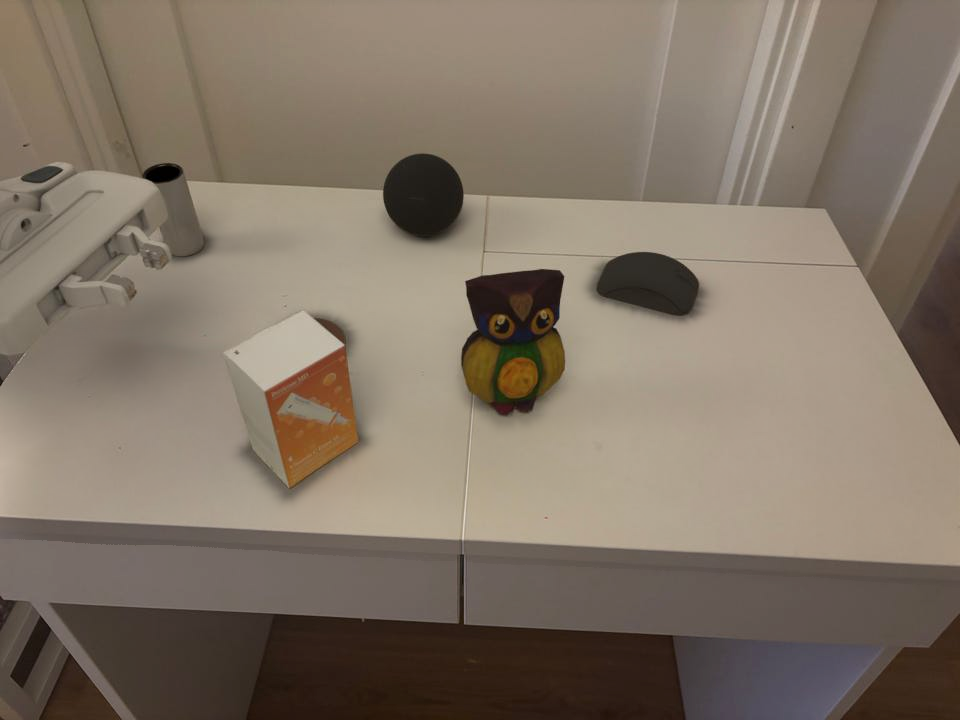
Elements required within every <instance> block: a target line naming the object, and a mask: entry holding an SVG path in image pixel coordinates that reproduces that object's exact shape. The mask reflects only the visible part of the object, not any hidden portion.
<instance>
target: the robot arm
mask: <svg viewBox="0 0 960 720" xmlns="http://www.w3.org/2000/svg"><path fill="white" fill-rule="evenodd" d="M167 218H168V213H167V210H166V206H165V203H164V200H163V197H162V194H161V192H160V190H159V188H158V187H157V186H156V185H155V184H154V183H153V182H151V181H149V180H146V179H143V178H142V177H138V176H133V175H129V174H124V173H119V172H113V171H106V170H83V171H80V172H78V171H77V170H76V168H75V166H74V164H71V163H69V162H65V161H55V162H52V163H49V164H47V165H45V166H42V167H40V168H38V169H36V170H33V171H30V172H27V173H25V174H22V175H20V176H16V177H13V178H8V179H5V180H4V179H3V180H0V355H4V356H15V355H20V354H24V353H27V352H29V351H30V350H31V349H32V348H33V347H35V345H36V344H37V343H39V342H40V340H41V339H42V338H44V337H45V335H47V334H48V333H49V332H50V331H51V330H52V329H53V328H55V326H56V325H57V324H58V323H60V321H61V320H63V319H64V318H65V317H66V316H67V315H68V314H69V313H70V312H71V311H73V309H74V308H77V309H87V308H92V307H97V306H104V305H107V304H113V305H116V306H120V307H126V306H127V305H128V304H129V303H130V302H131V301H132V300H133V299H134V298H135V297H136V296H137V294H138V292H137V289H136V288H135V284H134V282H133V281H132V279H130V278H128V277H126V276H125V277H124V276H123V277H121V276H120V275H116V274H111V273H112V272H113V271H115V270H116V269H117V268H118V266H120V265H121V264H122V263H123V262H124V261H125V260H126V259H127V258H128V257H129V256H132V257H137V256H138V255H140V257H142V262H143V265H144V267H145V268H149V269H156V270H158V271H161V270H162V269H163V268H164V267H165V266H166V265H167V264H169V263H170V262H171V261H172V260H173V255H172V254H171V253H170V250H169V247H168V246H167V245H166V244H165V243H164V242H161V241H157V240H153V239H150V236H152V235H153V234H154V233H155V232H156V231H157V230H158V229H159V227H160V226H161V225H162V224H163V223H164V222H165V221H166V220H167ZM110 274H111V275H110ZM109 275H110V276H109ZM108 276H109V277H108ZM107 277H108V278H107ZM106 278H107V279H106ZM105 279H106V280H105Z"/></svg>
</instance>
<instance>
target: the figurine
mask: <svg viewBox="0 0 960 720" xmlns="http://www.w3.org/2000/svg"><path fill="white" fill-rule="evenodd" d="M565 278H566V277H565V275H564V274H563V273H562V271H561V270H560V269H548V268H547V269H546V268H538V269H531V270H520V271H519V270H518V271H511V272H502V273H494V274H483V275H479V276H476V277H473V278H470V279H467V280H465V281H464V283H465V287H466V288H465V292H466V293H465V294H466V295H465V296H466V299H467V301H468V305H469V309H470V313H471V315H472V319H473V322H474V326H475V328H476V330H474V331H472V333H470V335H469V336H468V337H467V338H466V340H465V342H464V344H463V346H462V349H461V356H460V365H461V370H462V373H463V377H464V378H463V379H464V382H465V385H466V387H467V390H468V392H469V393H471V394H473V395H475V396H477V397H478V398H480V399H481V400H482V401H484V402H485V403H487V404H489V406H491V407H492V408H493V409H494V410H495V412H497V414H499V415H505V416H509V415H510V414H511V413H512V412H513V411H514V408H515V409H517V411H520V412H523V413H527V412H529V411H532V410H533V409H534V405H535V403H536V400H537V399H538V398H539V397H540V396H543V395H544V394H545V393H546V392H547V391H548V390H550V389H551V387H553V386H554V385H555V384H556V383H558V382H559V380H560V379H561V378H562V376H563V373H564V372H565V368H566V367H565V366H566V354H565V353H566V352H565V349H564V348H565V347H564V344H563V340H562V338H561V334H560V333H559V331H558V329H557V328H556V327H555V326H556V324H557V323H558V321H559V320H560V319H561V318H560V316H561V315H560V314H561V313H560V311H561V299H562V293H563V287H564V281H565Z"/></svg>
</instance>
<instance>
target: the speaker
mask: <svg viewBox="0 0 960 720" xmlns="http://www.w3.org/2000/svg"><path fill="white" fill-rule="evenodd" d="M385 177H386V178H385V180H384V182H383V183H384V184H383V188H382V189H383V190H382V200H383V205H384V208H385V211H386V213H387V215H388V216H389V218H390V220H391V221H392V222H393V223H394V224H395V225H396V226H397V227H398V228H399V229H401V230H402V231H404V232H406V233H409V234H411V235H414V236H420V237H429V236H434V235H437V234H439V233H442V232H444V231H446V230H447V229H448V228H450V227H451V226H452V225H453V224H454V223H455V221H456V220H457V218H458V216H460V214H461V211H462V208H463V205H464V199H465V197H464V195H465V194H464V187H463V183H462V179H461V177H460V175H459V174H458V172H457V170H456V169H455V167H453V165H451V164H450V163H449V162H448V161H447V160H445V159H444V158H442V157H440V156H438V155H435V154H431V153H423V152H422V153H414V154H411V155H408V156H406V157H404V158H401V159H400V160H398V161H397V163H395V164H394V165H393V166H392V168H391V169H390V170H389V172H388V173H387V175H386V176H385Z"/></svg>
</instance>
